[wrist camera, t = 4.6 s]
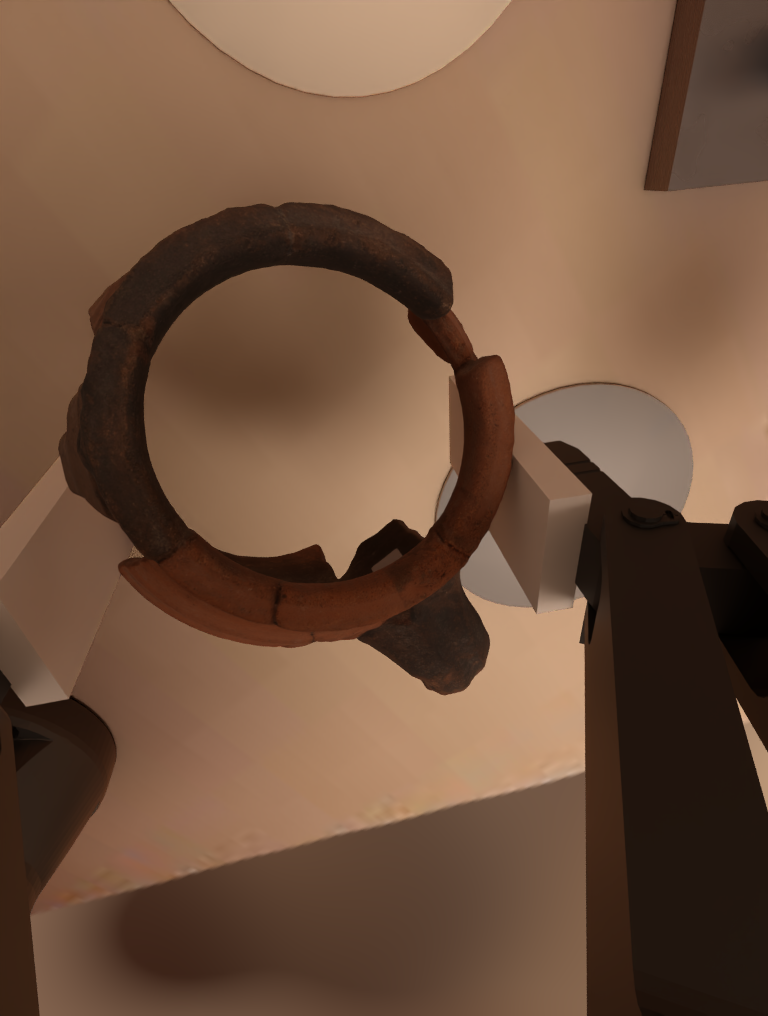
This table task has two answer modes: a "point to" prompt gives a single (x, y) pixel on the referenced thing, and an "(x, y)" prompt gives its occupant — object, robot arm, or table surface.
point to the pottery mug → (305, 574)
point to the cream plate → (342, 39)
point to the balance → (713, 98)
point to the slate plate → (605, 441)
